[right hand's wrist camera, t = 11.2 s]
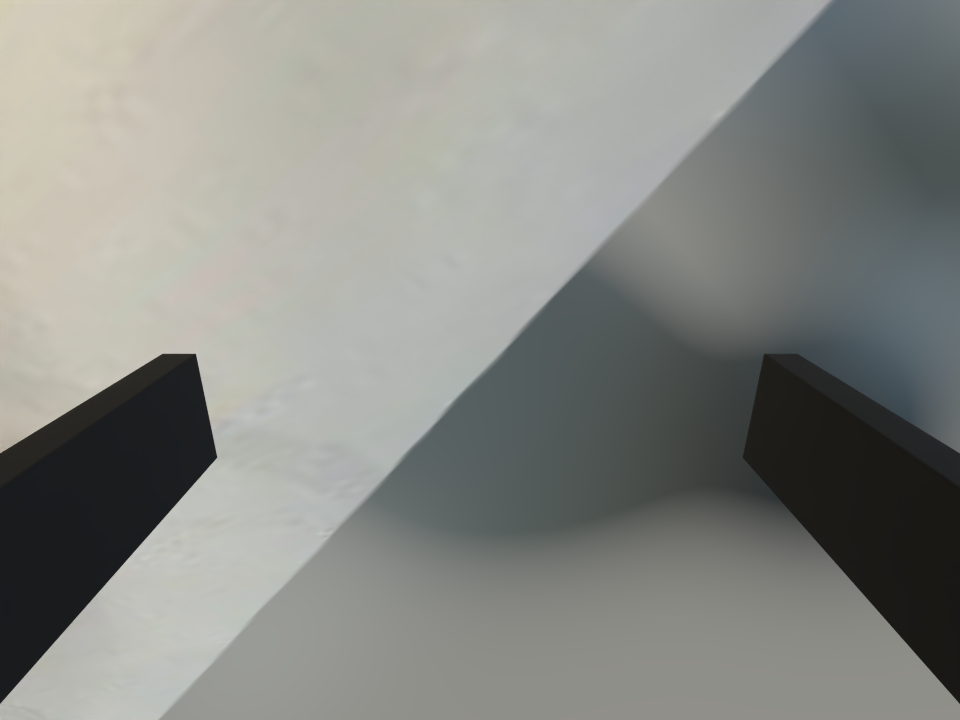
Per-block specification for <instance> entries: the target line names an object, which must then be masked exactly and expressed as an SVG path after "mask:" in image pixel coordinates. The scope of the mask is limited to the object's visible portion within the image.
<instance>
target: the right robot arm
mask: <svg viewBox="0 0 960 720" xmlns="http://www.w3.org/2000/svg"><path fill="white" fill-rule="evenodd" d="M216 458H217V454H216V449H215V444H214V440H213V435H212V430H211V425H210V420H209V415H208V411H207V406H206V401H205V396H204V391H203V386H202V382H201V377H200V372H199V367H198V362H197V357H196V354H162V355H160V356H158V357H157V358H155V359H154V360H152V361H150V362H149V363H147V364H145V365H144V366H142V367H140V368H139V369H137V370H136V371H134V372H132V373H131V374H129V375H127V376H126V377H124V378H123V379H121V380H119V381H118V382H116V383H114V384H113V385H111V386H110V387H108V388H106V389H105V390H103V391H101V392H100V393H98V394H96V395H95V396H93V397H92V398H90V399H88V400H87V401H85V402H83V403H82V404H80V405H79V406H77V407H75V408H74V409H72V410H70V411H69V412H67V413H65V414H64V415H62V416H61V417H59V418H57V419H56V420H54V421H52V422H51V423H49V424H48V425H46V426H44V427H43V428H41V429H39V430H38V431H36V432H34V433H33V434H31V435H30V436H28V437H26V438H25V439H23V440H21V441H20V442H18V443H17V444H15V445H13V446H12V447H10V448H8V449H7V450H5V451H4V452H2V453H0V703H1V702H2V701H3V700H4V699H5V698H6V697H7V695H8V694H9V693H10V692H11V691H12V690H13V689H14V687H15V686H16V685H17V684H18V683H19V682H20V681H21V680H22V678H23V677H24V676H25V675H26V674H27V673H28V672H29V670H30V669H31V668H32V667H33V666H34V665H35V664H36V663H37V661H38V660H39V659H40V658H41V657H42V656H43V655H44V653H45V652H46V651H47V650H48V649H49V648H50V647H51V645H52V644H53V643H54V642H55V641H56V640H57V639H58V638H59V636H60V635H61V634H62V633H63V632H64V631H65V630H66V628H67V627H68V626H69V625H70V624H71V623H72V622H73V621H74V619H75V618H76V617H77V616H78V615H79V614H80V613H81V611H82V610H83V609H84V608H85V607H86V606H87V605H88V604H89V602H90V601H91V600H92V599H93V598H94V597H95V596H96V594H97V593H98V592H99V591H100V590H101V589H102V588H103V586H104V585H105V584H106V583H107V582H108V581H109V580H110V579H111V577H112V576H113V575H114V574H115V573H116V572H117V571H118V569H119V568H120V567H121V566H122V565H123V564H124V563H125V562H126V560H127V559H128V558H129V557H130V556H131V555H132V554H133V552H134V551H135V550H136V549H137V548H138V547H139V546H140V545H141V543H142V542H143V541H144V540H145V539H146V538H147V537H148V535H149V534H150V533H151V532H152V531H153V530H154V529H155V527H156V526H157V525H158V524H159V523H160V522H161V521H162V520H163V518H164V517H165V516H166V515H167V514H168V513H169V512H170V510H171V509H172V508H173V507H174V506H175V505H176V504H177V503H178V501H179V500H180V499H181V498H182V497H183V496H184V495H185V493H186V492H187V491H188V490H189V489H190V488H191V487H192V486H193V484H194V483H195V482H196V481H197V480H198V479H199V478H200V476H201V475H202V474H203V473H204V472H205V471H206V470H207V468H208V467H209V466H210V465H211V464H212V463H213V462H214V461H215V459H216ZM743 458H744V459H745V461H746V462H747V463H748V464H749V465H750V466H751V467H752V468H753V470H754V471H755V472H756V473H757V474H758V475H759V476H760V478H761V479H762V480H763V481H764V482H765V483H766V484H767V485H768V487H769V488H770V489H771V490H772V491H773V492H774V493H775V495H776V496H777V497H778V498H779V499H780V500H781V501H782V503H783V504H784V505H785V506H786V507H787V508H788V509H789V510H790V512H791V513H792V514H793V515H794V516H795V517H796V518H797V520H798V521H799V522H800V523H801V524H802V525H803V526H804V527H805V529H806V530H807V531H808V532H809V533H810V534H811V535H812V537H813V538H814V539H815V540H816V541H817V542H818V543H819V544H820V546H821V547H822V548H823V549H824V550H825V551H826V552H827V554H828V555H829V556H830V557H831V558H832V559H833V560H834V561H835V563H836V564H837V565H838V566H839V567H840V568H841V569H842V571H843V572H844V573H845V574H846V575H847V576H848V577H849V579H850V580H851V581H852V582H853V583H854V584H855V585H856V586H857V588H858V589H859V590H860V591H861V592H862V593H863V594H864V596H865V597H866V598H867V599H868V600H869V601H870V602H871V603H872V605H873V606H874V607H875V608H876V609H877V610H878V611H879V613H880V614H881V615H882V616H883V617H884V618H885V619H886V621H887V622H888V623H889V624H890V625H891V626H892V627H893V628H894V630H895V631H896V632H897V633H898V634H899V635H900V636H901V638H902V639H903V640H904V641H905V642H906V643H907V644H908V645H909V647H910V648H911V649H912V650H913V651H914V652H915V653H916V655H917V656H918V657H919V658H920V659H921V660H922V661H923V662H924V664H925V665H926V666H927V667H928V668H929V669H930V670H931V672H932V673H933V674H934V675H935V676H936V677H937V678H938V680H939V681H940V682H941V683H942V684H943V685H944V686H945V687H946V689H947V690H948V691H949V692H950V693H951V694H952V695H953V696H954V698H955V699H956V700H957V701H958V702H959V703H960V453H958V452H956V451H955V450H953V449H952V448H950V447H948V446H947V445H945V444H943V443H942V442H940V441H938V440H937V439H935V438H934V437H932V436H930V435H929V434H927V433H925V432H924V431H922V430H921V429H919V428H917V427H916V426H914V425H912V424H911V423H909V422H908V421H906V420H904V419H903V418H901V417H899V416H898V415H896V414H895V413H893V412H891V411H890V410H888V409H886V408H885V407H883V406H881V405H880V404H878V403H877V402H875V401H873V400H872V399H870V398H868V397H867V396H865V395H864V394H862V393H860V392H859V391H857V390H855V389H854V388H852V387H850V386H849V385H847V384H846V383H844V382H842V381H841V380H839V379H837V378H836V377H834V376H832V375H831V374H829V373H828V372H826V371H824V370H823V369H821V368H820V367H818V366H816V365H815V364H813V363H811V362H810V361H808V360H806V359H805V358H803V357H802V356H800V355H798V354H764V357H763V362H762V367H761V372H760V377H759V382H758V386H757V391H756V396H755V401H754V406H753V411H752V416H751V420H750V425H749V430H748V435H747V440H746V444H745V449H744V454H743Z"/></svg>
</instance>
